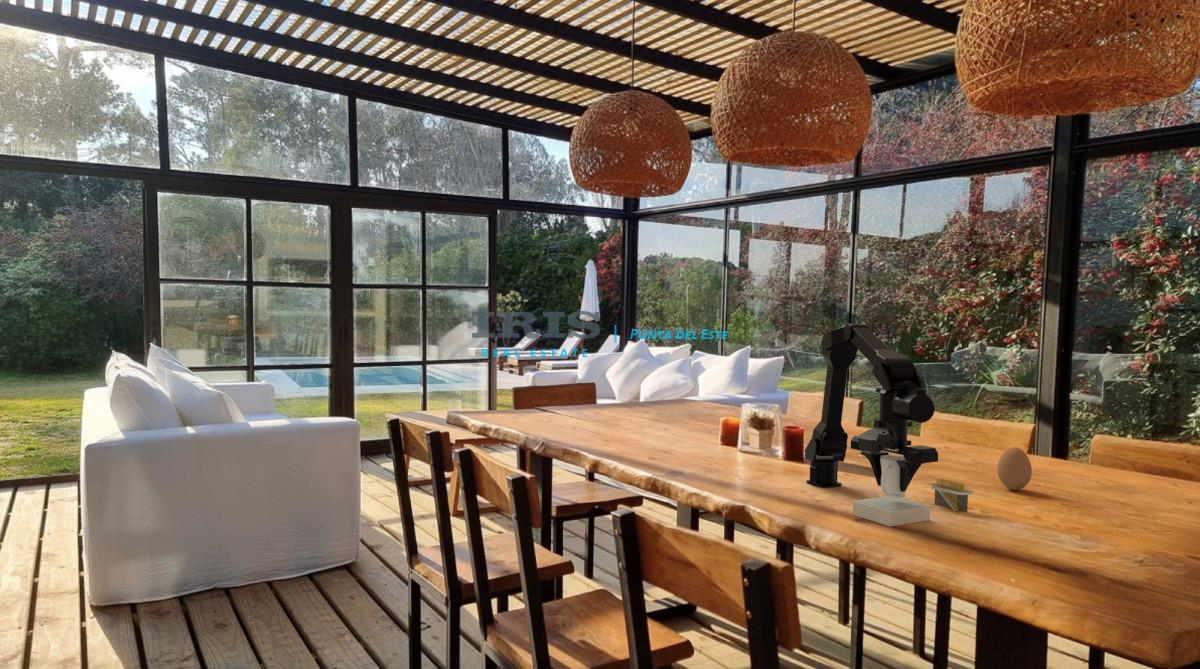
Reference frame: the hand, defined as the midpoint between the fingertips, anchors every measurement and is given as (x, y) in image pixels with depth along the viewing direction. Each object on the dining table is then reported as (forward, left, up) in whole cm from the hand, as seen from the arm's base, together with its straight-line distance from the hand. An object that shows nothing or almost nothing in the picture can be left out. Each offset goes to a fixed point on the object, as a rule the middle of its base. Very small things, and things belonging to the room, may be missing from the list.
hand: (891, 488), depth 158 cm
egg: (-51, -6, -6) cm, 52 cm away
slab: (0, 0, -6) cm, 6 cm away
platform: (-19, 0, -7) cm, 20 cm away
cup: (0, 0, -2) cm, 2 cm away
